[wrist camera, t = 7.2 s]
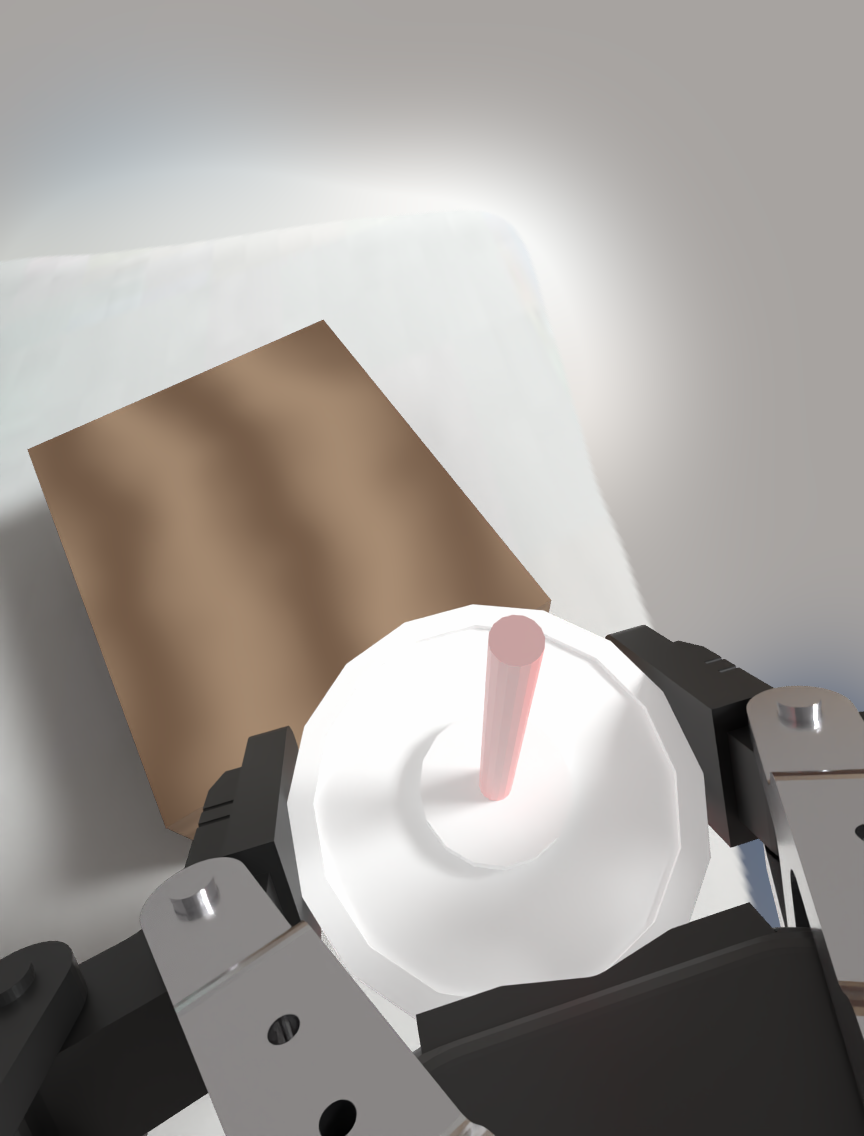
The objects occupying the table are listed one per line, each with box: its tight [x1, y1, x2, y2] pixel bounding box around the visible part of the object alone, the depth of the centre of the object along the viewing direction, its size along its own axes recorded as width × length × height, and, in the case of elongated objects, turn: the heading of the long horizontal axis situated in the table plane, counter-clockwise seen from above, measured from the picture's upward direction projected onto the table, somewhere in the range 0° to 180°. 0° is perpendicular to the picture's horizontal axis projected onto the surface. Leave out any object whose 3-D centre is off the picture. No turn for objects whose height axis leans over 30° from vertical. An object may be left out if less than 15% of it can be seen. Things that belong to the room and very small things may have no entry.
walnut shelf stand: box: [28, 320, 551, 840], centre depth 30 cm, size 15×19×6 cm
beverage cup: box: [287, 604, 711, 1020], centre depth 11 cm, size 6×6×14 cm
